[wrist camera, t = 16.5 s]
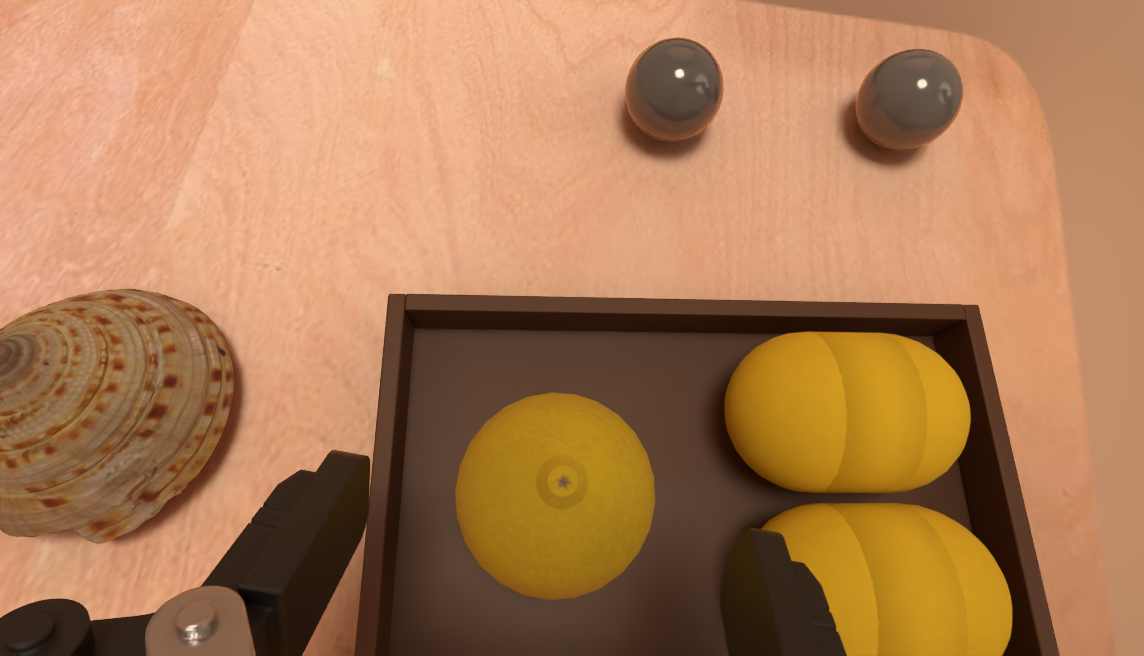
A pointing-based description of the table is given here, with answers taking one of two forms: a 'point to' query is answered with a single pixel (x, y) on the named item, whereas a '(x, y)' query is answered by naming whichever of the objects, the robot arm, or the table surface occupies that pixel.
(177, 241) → the table surface
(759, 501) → the tray
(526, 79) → the table surface
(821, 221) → the table surface
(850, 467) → the yellow ribbed oblong body
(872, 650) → the yellow banded capsule
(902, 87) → the glossy gray ball
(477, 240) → the table surface
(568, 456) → the lemon
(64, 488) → the seashell
